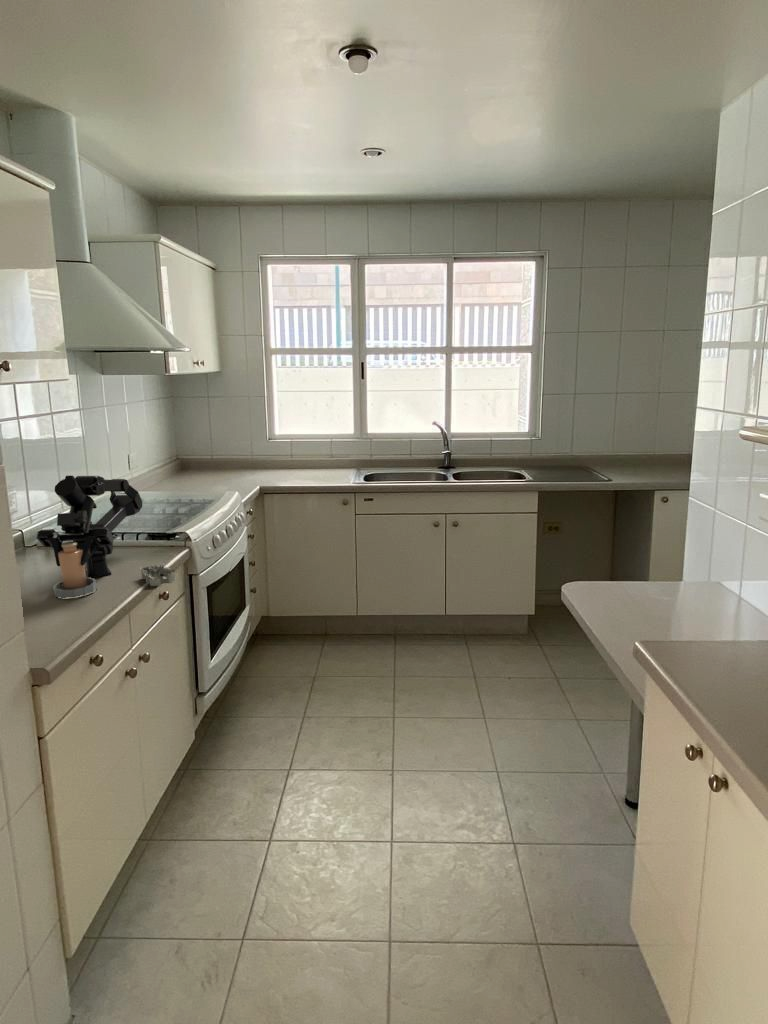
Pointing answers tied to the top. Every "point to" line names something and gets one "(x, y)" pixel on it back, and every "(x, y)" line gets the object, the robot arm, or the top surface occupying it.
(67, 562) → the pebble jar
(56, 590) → the slate bowl
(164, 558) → the top surface
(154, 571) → the egg carton
